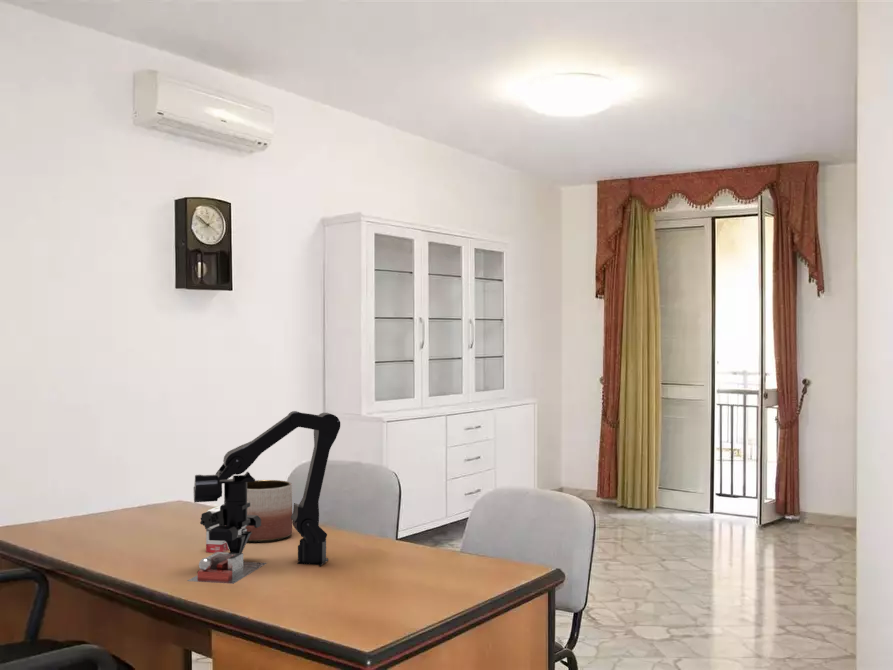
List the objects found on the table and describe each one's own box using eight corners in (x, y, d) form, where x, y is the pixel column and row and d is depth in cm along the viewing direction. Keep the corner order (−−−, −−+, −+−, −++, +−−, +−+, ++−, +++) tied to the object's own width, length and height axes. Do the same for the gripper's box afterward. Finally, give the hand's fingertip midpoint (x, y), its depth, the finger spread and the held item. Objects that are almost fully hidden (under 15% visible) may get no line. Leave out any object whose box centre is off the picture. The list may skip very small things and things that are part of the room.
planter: (280, 544, 244) (280, 489, 244) (221, 542, 247) (221, 488, 247) (300, 531, 262) (300, 480, 262) (245, 529, 264) (245, 479, 265)
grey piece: (267, 564, 221) (267, 543, 221) (233, 585, 201) (233, 562, 201) (224, 562, 223) (224, 541, 223) (186, 582, 204) (186, 559, 204)
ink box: (221, 555, 232) (221, 511, 232) (205, 554, 233) (205, 511, 233) (235, 547, 240) (235, 506, 240) (219, 547, 241) (220, 505, 241)
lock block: (243, 571, 212) (243, 553, 213) (232, 577, 207) (232, 559, 207) (217, 569, 214) (217, 551, 214) (205, 576, 208) (206, 557, 208)
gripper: (222, 492, 227) (222, 551, 227) (188, 505, 209) (188, 569, 208) (261, 494, 225) (261, 553, 225) (231, 507, 206) (231, 571, 206)
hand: (235, 561), depth 216 cm, fingers closed
